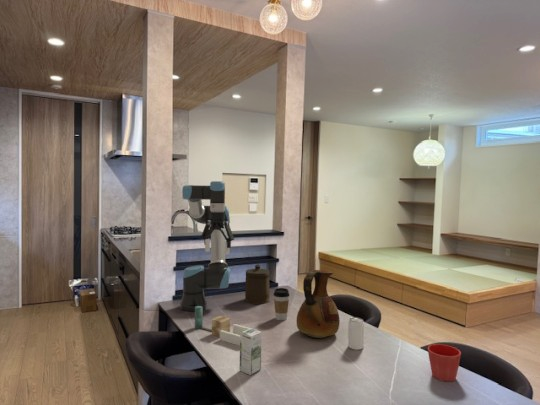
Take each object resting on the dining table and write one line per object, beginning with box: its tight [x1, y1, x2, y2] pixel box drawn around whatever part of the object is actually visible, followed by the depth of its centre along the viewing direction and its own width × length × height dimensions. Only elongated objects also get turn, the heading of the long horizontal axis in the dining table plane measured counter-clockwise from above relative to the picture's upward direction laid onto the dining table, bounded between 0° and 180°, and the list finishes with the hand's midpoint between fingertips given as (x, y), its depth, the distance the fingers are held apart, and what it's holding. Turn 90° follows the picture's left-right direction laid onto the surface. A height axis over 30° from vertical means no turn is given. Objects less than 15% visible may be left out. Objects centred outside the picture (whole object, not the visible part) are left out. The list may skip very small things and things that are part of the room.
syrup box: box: [239, 327, 263, 376], centre depth 134 cm, size 6×6×14 cm
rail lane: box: [219, 323, 260, 347], centre depth 162 cm, size 14×10×4 cm
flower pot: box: [427, 343, 462, 382], centre depth 131 cm, size 11×11×10 cm
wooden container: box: [244, 264, 271, 305], centre depth 222 cm, size 15×15×22 cm
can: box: [347, 316, 365, 351], centre depth 155 cm, size 6×6×12 cm
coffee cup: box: [273, 287, 290, 321], centre depth 190 cm, size 8×8×15 cm
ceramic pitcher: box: [296, 269, 340, 339], centre depth 169 cm, size 20×20×30 cm
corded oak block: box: [194, 306, 231, 338], centre depth 172 cm, size 19×6×10 cm, turn 58°
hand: (217, 252), depth 186 cm, fingers open, 13 cm apart
